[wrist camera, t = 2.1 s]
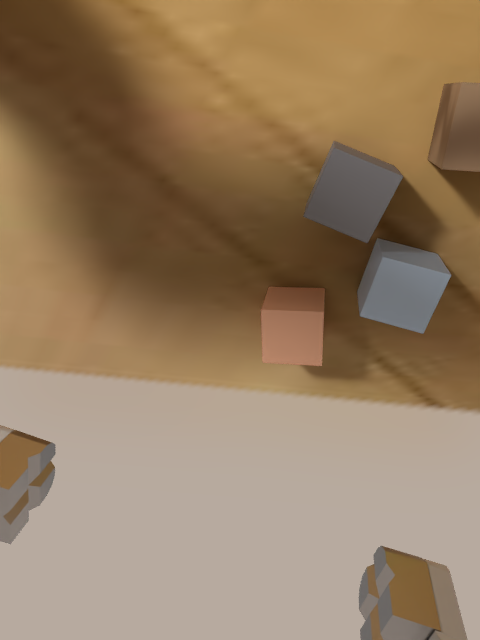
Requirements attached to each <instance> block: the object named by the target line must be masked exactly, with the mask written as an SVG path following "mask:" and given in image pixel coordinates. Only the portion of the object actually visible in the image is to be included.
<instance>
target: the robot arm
mask: <svg viewBox="0 0 480 640" xmlns="http://www.w3.org/2000/svg"><path fill="white" fill-rule="evenodd" d="M54 455H55V444H54V443H51V442H48V441H46V440H43V439H40V438H37V437H34V436H31V435H28V434H25V433H23V432H20V431H17V430H13V429H10V428H7V427H4V426H1V425H0V541H2V542H5V543H9V544H11V543H12V541H13V540H14V539H15V538H16V536H17V535H18V533H19V532H20V531H21V530H22V528H23V527H24V526H25V524H26V523H27V522H28V517H29V513H28V511H29V510H31V509H33V508H35V507H37V506H39V505H40V504H41V503H42V501H43V500H44V499H45V497H46V496H47V494H48V492H49V490H50V488H51V485H52V483H53V479H54V475H55V467H54V465H53V464H52V462H51V459H52V458H53V456H54ZM359 610H360V612H361V613H362V615H363V617H364V618H365V620H366V621H365V623H364V625H363V626H362V628H361V630H360V635H361V640H467V636H466V633H465V629H464V625H463V621H462V617H461V613H460V610H459V605H458V602H457V598H456V595H455V590H454V586H453V582H452V578H451V574H450V571H449V569H448V568H447V566H445V565H442V564H438V563H435V562H432V561H429V560H426V559H422V558H420V557H417V556H413V555H410V554H407V553H403V552H400V551H397V550H394V549H390V548H387V547H383V546H380V547H379V548H378V549H377V550H376V552H375V554H374V564H373V565H371V566H369V567H367V568H366V570H365V572H364V574H363V576H362V580H361V584H360V589H359Z"/></svg>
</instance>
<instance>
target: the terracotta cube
mask: <svg viewBox="0 0 480 640" xmlns="http://www.w3.org/2000/svg"><path fill="white" fill-rule="evenodd" d="M324 303H325V288H301V287H268V290H267V293H266V296H265V299H264V302H263V305H262V308H261V328H262V360H263V363H278V364H295V365H313V366H322V353H323V330H324Z"/></svg>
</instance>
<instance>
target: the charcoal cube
mask: <svg viewBox="0 0 480 640" xmlns="http://www.w3.org/2000/svg"><path fill="white" fill-rule="evenodd" d="M402 178H403V176H402V174H401V173H400V172H399V171H398V170H397V168H396V167H395V166H393V165H391V164H388V163H386V162H384V161H381V160H379V159H376V158H374V157H372V156H369V155H367V154H365V153H362V152H360V151H357V150H355V149H353V148H350V147H348V146H345V145H343V144H341V143H338V142H336V141H334V142H333V144H332V146H331V148H330V151H329V153H328V155H327V158H326V160H325V162H324V164H323V167H322V169H321V171H320V174H319V176H318V178H317V180H316V183H315V185H314V187H313V190H312V192H311V194H310V196H309V199H308V201H307V204H306V208H305V212H304V216H303V217H305V218H308V219H310V220H313V221H315V222H317V223H320V224H322V225H325V226H327V227H329V228H332V229H334V230H336V231H339V232H341V233H344V234H346V235H348V236H351V237H353V238H356V239H358V240H360V241H363V242H365V243H368V242H369V240H370V238H371V236H372V234H373V232H374V230H375V228H376V227H377V225H378V223H379V221H380V219H381V217H382V215H383V213H384V212H385V210H386V208H387V206H388V204H389V202H390V200H391V198H392V197H393V195H394V193H395V191H396V189H397V187H398V185H399V183H400V182H401V180H402Z"/></svg>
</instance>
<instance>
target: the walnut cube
mask: <svg viewBox="0 0 480 640" xmlns="http://www.w3.org/2000/svg"><path fill="white" fill-rule="evenodd" d="M428 160H429V161H430V162H432V163H433V164H435V165H436V166H437V167H439V168H440V169H444V170H460V171H475V172H480V83H464V82H461V83H451V84H444V87H443V91H442V96H441V100H440V105H439V110H438V114H437V119H436V123H435V128H434V132H433V137H432V142H431V146H430V151H429V155H428Z"/></svg>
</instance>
